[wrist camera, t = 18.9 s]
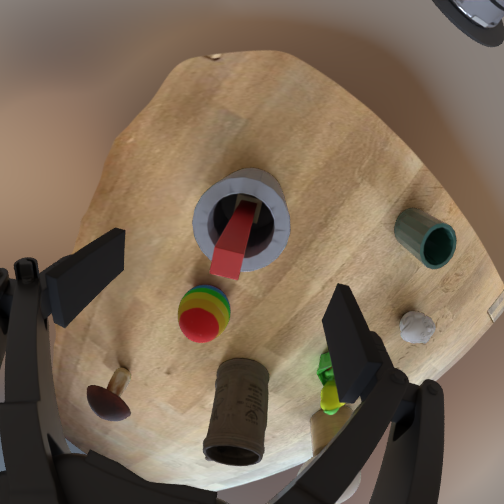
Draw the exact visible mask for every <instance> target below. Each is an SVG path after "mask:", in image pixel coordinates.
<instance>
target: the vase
mask: <svg viewBox="0 0 504 504" xmlns="http://www.w3.org/2000/svg"><path fill="white" fill-rule="evenodd" d="M238 193H245V194H249V195H253V196H255V197H257V198H258V199H260V200H262V201H263V202H262V206H261V210H260V214H259V218H258V222H257V224H256V223H252V226H251V230H250V234H249V238H248V242H247V246H246V250H245V254H244V258H243V262H242V266H241V270H240V272H244V271H254V270H257V269H260V268H262V267H265V266H267V265H269V264H270V263H271V262H273V261H274V260H275V259H277V258H278V257H279V255H280V254H281V252H282V251H283V249H284V248H285V247H286V245H287V241H288V238H289V235H290V215H289V212H288V208H287V205H286V201H285V198H284V194H283V191H282V189H281V186H280V184H279V183H278V182H277V180H276V179H275V178H274V177H273V176H272V175H271V174H269V173H268V172H266V171H263V170H261V169H257V168H245V169H241V170H238V171H236V172H233V173H232V174H230V175H228V176H227V177H225V178H223V179H222V180H220V181H219V182H217V183H215V184H214V185H212V186H211V187H210V188H209V189H208V190H207V191H206V192H205V193H204V194H203V195H202V196H201V198H200V200H199V201H198V203H197V205H196V207H195V210H194V216H193V221H192V224H193V230H194V236H195V239H196V241H197V243H198V245H199V247H200V249H201V251H202V252H203V253H204V254H205V255H206V256H207V257H208V258H209V259H210V260H211V261H212V257H213V252H214V247H215V245H216V243H217V242H218V240H219V238H220V236H221V234H222V233H223V231H224V229H225V227H226V226H227V224H228V222H229V220H230V219H231V217H232V215H233V213H234V208H235V204H236V199H237V195H238Z"/></svg>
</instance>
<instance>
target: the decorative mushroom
mask: <svg viewBox="0 0 504 504" xmlns="http://www.w3.org/2000/svg"><path fill="white" fill-rule="evenodd" d="M130 380H131V374H130V373H129V371H128V370H126V369H125V368H118V369H117V370H116V371H115V372H114V374H113V376H112V378H111V380H110V382H109V384H108V386H107V389H105V388H103V387H100V386H96V385H90V386H88V387H87V400H88V403H89V405H90V407H91V409H92V410H93V411H94V412H95V414H96V415H98V416H99V417H100V418H102V419H105V420H109V421H121V420H124V419H126V418H127V417H129V416H130V415H131V412H130V409H129V407H128V406H127V405H126V403H125V402H124V401H123V400H122V399H121V398H120V396H121V395H122V393H123V392H124V390H125V389H126V387H127V386H128V384H129V382H130Z"/></svg>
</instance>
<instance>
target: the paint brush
mask: <svg viewBox="0 0 504 504" xmlns="http://www.w3.org/2000/svg"><path fill="white" fill-rule="evenodd" d="M262 202H263V201H262V200H260V199H258V198H257V197H255V196H253V195H249V194H245V193H238V195H237V199H236V204H235V208H234V213H233V215H232V217H231V219H230V220H229V222H228V224H227V226H226V227H225V229H224V231H223V233H222V234H221V236H220V238H219V240H218V242H217V243H216V245H215V247H214V252H213V257H212V262H211V267H210V274H214V275H218V276H222V277H226V278H230V279H234V280H238V278H239V274H240V270H241V266H242V262H243V258H244V254H245V250H246V246H247V242H248V238H249V234H250V230H251V226H252V223H256V224H257V222H258V218H259V214H260V210H261V206H262Z"/></svg>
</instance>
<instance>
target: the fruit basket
mask: <svg viewBox="0 0 504 504" xmlns="http://www.w3.org/2000/svg"><path fill="white" fill-rule="evenodd" d="M317 375H318V377H319V379H320V381H321V382H322V384H323V386H324V387H323V388H322V390H321V403H320V405H321V408H322V409H323V410H324V412H325V413H327V414H329V415H333V414H335V413H336V412H337V411H338V409H339V407H341V406H343V405H344V404H345V403H339V398H338V393H337V388H336V383H335V378H334V373H333V368H332V363H331V359H330V354H329V352H328V353H326V354H322V355H321V357H320V363H319V368H318V370H317Z"/></svg>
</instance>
